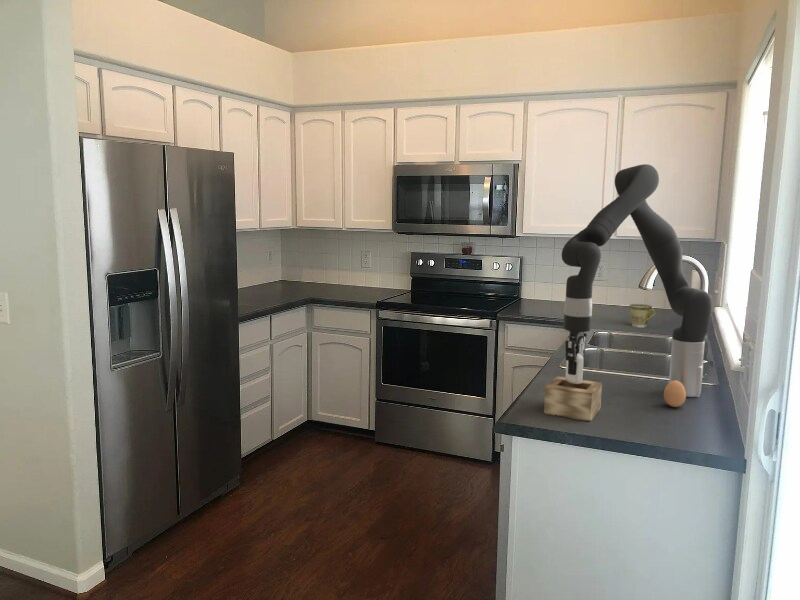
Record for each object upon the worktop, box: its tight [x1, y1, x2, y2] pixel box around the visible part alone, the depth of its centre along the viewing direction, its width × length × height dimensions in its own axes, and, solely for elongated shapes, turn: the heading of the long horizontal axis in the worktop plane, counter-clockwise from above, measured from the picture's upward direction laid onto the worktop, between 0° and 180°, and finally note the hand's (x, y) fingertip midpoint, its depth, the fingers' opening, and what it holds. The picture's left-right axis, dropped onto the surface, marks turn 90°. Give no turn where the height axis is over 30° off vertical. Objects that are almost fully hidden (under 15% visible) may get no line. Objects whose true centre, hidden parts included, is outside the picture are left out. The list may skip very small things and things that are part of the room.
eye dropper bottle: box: [564, 350, 584, 384], centre depth 183 cm, size 4×6×12 cm
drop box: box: [543, 375, 603, 423], centre depth 185 cm, size 13×12×8 cm
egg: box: [663, 380, 687, 408], centre depth 190 cm, size 6×6×8 cm
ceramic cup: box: [629, 303, 657, 328], centre depth 307 cm, size 13×10×10 cm
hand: (574, 371), depth 184 cm, fingers closed on eye dropper bottle, 5 cm apart
